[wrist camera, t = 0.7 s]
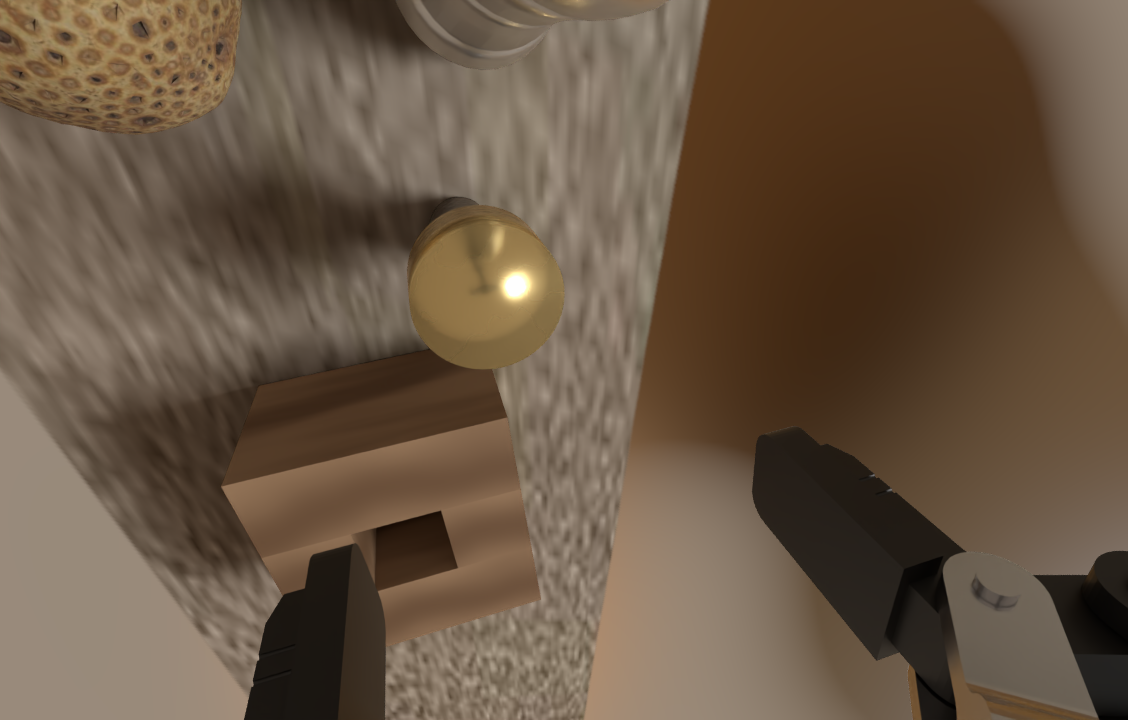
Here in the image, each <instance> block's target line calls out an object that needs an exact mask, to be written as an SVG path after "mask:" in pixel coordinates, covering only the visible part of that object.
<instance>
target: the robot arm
mask: <svg viewBox="0 0 1128 720" xmlns="http://www.w3.org/2000/svg"><path fill="white" fill-rule="evenodd" d="M874 475H875V474H874V473H873V472H871V471H870V470H869V469H868V468H867V467H866V466H864V465H863V464H862V463H861V462H859V460H857V459H856V458H855V457H854V456H852V455H850V454H848V453H845V452H843V451H841V450H839V449H837V448H835V447H833V446H831V445H829V444H825V445H819V444H818V443H817V442H816V441H815V440H814V439H813V438H812V437H810V436H809V435H808V434H807V433H806V432H805V431H804V430H802V429H801V428H799V427H796V426H793V427H789V428H785V429H782V430H778V431H774V432H771V433H767V434H764V435H761V436H759V438H758V440H757V444H756V454H755V465H754V476H753V488H752V494H753V500H754V504H755V507H756V509H757V511H758V513H759V515H760V517H761V519H762V520H763V521H764V523H765V524H766V525H767V526H768V528H769V529H770V530H771V531H772V532H773V534H774V535H775V536H776V537H777V539H778V540H779V541H780V542H781V544H782V545H783V546H784V547H785V548H786V550H787V551H788V552H789V553H790V555H791V556H792V557H793V558H794V560H795V561H796V562H797V563H798V564H799V566H800V567H801V568H802V569H803V571H804V572H805V573H806V574H807V575H808V577H809V578H810V579H811V580H812V582H813V583H814V584H815V585H816V587H817V588H818V589H819V590H820V591H821V593H822V594H823V595H824V596H825V598H826V599H827V600H828V601H829V603H830V604H831V605H832V606H833V608H834V609H835V610H836V611H837V612H838V614H839V615H840V616H841V617H842V619H843V620H844V621H845V622H846V624H847V625H848V626H849V627H850V629H851V630H852V631H853V632H854V633H855V635H856V636H857V637H858V638H859V640H860V641H861V642H862V643H863V644H864V646H865V647H866V648H867V649H868V651H869V652H870V653H871V654H872V656H873V657H874V658H875V659H876V660H880V659H882V658H885V657H888V656H890V655H893V654H896V653H899V652H900V654H901V655H902V656H903V657H904V658H905V659H906V660H907V662H908V663H909V667H908V672H907V678H908V686H909V694H910V702H911V710H912V718H913V720H1128V551H1112V552H1107V553H1105V554H1102V555H1101V556H1099V557H1098V558H1097V559H1096V561H1095V563H1094V565H1093V566H1092V568H1091V570H1090V572H1089V574H1088V575H1032V574H1031V573H1029V572H1028V571H1026V570H1025V569H1023V568H1022V567H1020V566H1018V565H1016V564H1014V563H1013V562H1010V561H1008V560H1006V559H1004V558H1000V557H998V556H995V555H991V554H987V553H981V552H966V551H965V550H963V549H962V548H961V547H959V546H958V545H957V544H956V543H955V542H954V541H952V540H951V539H950V538H949V537H948V536H947V535H945V534H944V533H943V532H942V531H941V530H940V529H938V528H937V527H936V526H935V525H934V524H933V523H931V522H930V521H929V520H928V519H927V518H925V517H924V516H923V515H922V514H921V513H920V512H918V511H917V510H916V509H915V508H914V507H912V506H911V505H910V504H909V503H908V502H907V501H905V500H904V499H903V498H902V497H901V496H900V495H898V494H897V493H893V492H892V489H891V488H890V487H889V486H888V485H887V484H886V483H884V482H883V481H882V480H880V478H876V477H875V476H874ZM385 661H386V627H385V617H384V611H383V606H382V602H381V599H380V596H379V593H378V591H377V588H376V586H375V583H374V581H373V579H372V576H371V574H370V571H369V569H368V566H367V564H366V561H365V559H364V556H363V554H362V551H361V549H360V547H359V546H358V544H356V543H353V544H350V545H346V546H342V547H339V548H335V549H331V550H327V551H324V552H320V553H316V554H313V555H312V556H311V558H310V561H309V566H308V572H307V578H306V584H305V588H304V589H300V590H297V591H293V592H290V593H286V594H284V595H283V597H282V598H281V600H280V602H279V603H278V605H277V606H276V608H275V610H274V611H273V613H272V614H271V616H270V618H269V619H268V621H267V622H266V624H265V629H264V633H263V638H262V642H261V646H260V651H259V661H257V664H256V669H255V673H254V678H253V683H254V686H253V687H251V691H250V696H249V700H248V705H247V709H246V713H245V718H244V720H385Z"/></svg>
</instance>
